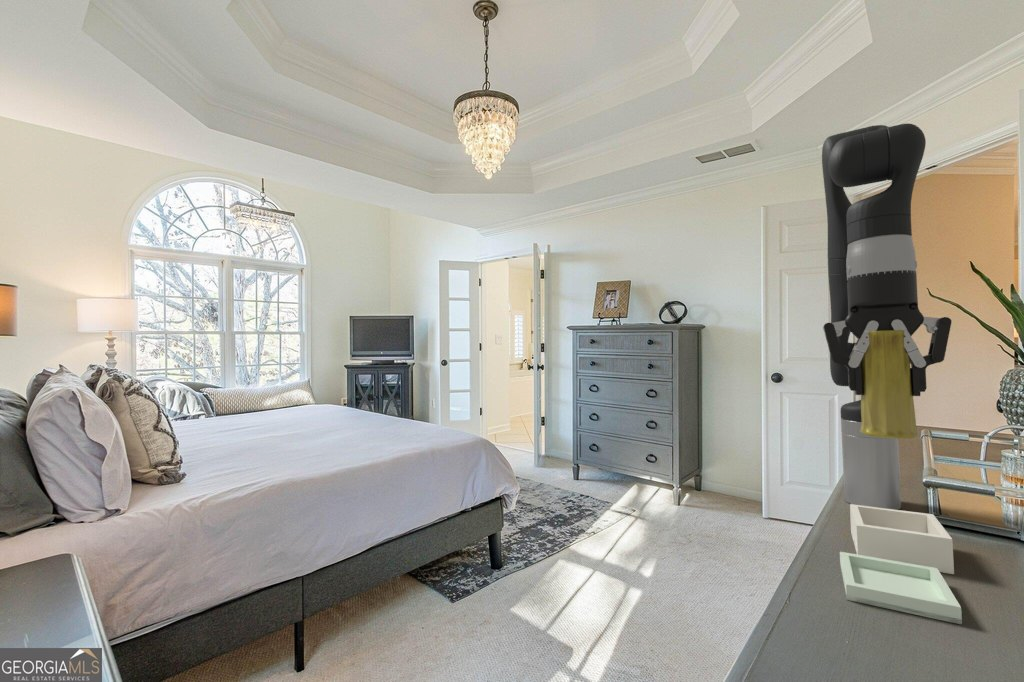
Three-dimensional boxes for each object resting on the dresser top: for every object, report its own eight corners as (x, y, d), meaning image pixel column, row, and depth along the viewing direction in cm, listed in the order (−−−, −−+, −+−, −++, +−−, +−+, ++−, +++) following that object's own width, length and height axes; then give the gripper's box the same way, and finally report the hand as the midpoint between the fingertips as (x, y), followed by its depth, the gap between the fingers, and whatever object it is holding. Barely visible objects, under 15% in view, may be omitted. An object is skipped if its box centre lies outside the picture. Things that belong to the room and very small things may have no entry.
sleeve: (851, 532, 80) (849, 504, 81) (934, 545, 75) (933, 514, 75) (858, 557, 71) (856, 525, 71) (954, 574, 65) (952, 539, 65)
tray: (840, 564, 69) (839, 551, 69) (937, 582, 63) (937, 568, 63) (846, 599, 60) (846, 584, 60) (962, 624, 54) (961, 607, 54)
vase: (929, 439, 59) (924, 329, 60) (875, 438, 60) (871, 330, 61) (899, 431, 65) (895, 331, 66) (851, 431, 66) (847, 332, 67)
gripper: (942, 271, 63) (949, 394, 62) (817, 282, 71) (821, 392, 70) (958, 262, 57) (966, 399, 56) (819, 275, 64) (824, 396, 64)
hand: (886, 394), depth 63 cm, fingers closed on vase, 5 cm apart
